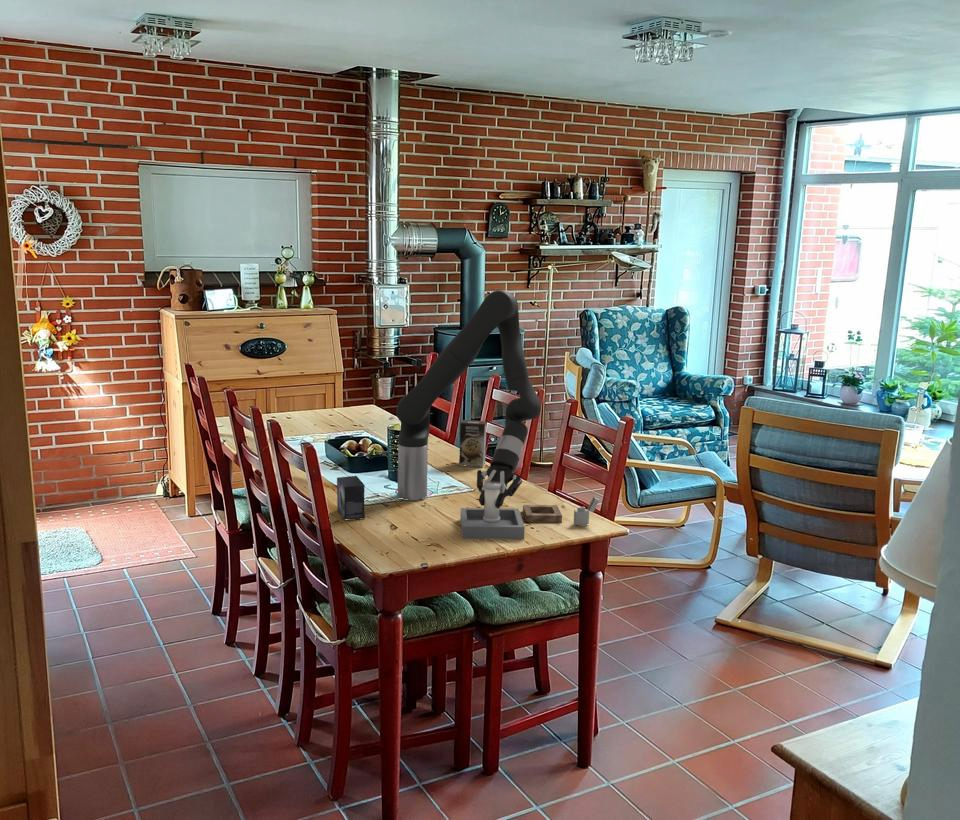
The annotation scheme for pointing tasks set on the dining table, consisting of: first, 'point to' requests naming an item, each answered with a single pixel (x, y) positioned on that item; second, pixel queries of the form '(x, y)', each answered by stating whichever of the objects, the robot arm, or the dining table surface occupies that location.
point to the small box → (350, 497)
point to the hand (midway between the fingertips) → (489, 505)
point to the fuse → (491, 502)
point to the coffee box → (472, 443)
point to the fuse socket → (532, 517)
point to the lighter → (584, 513)
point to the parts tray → (491, 524)
